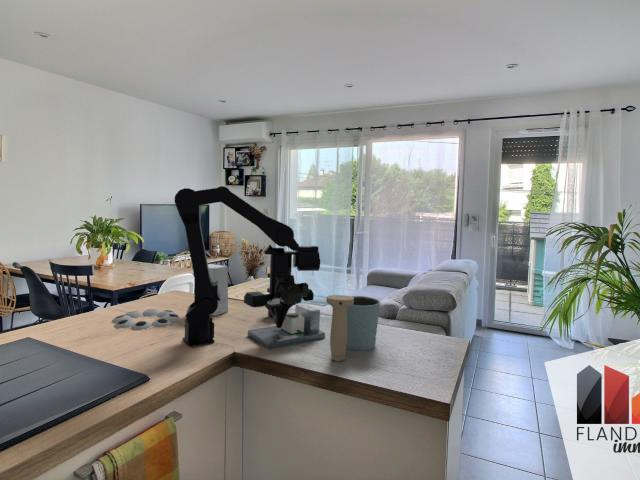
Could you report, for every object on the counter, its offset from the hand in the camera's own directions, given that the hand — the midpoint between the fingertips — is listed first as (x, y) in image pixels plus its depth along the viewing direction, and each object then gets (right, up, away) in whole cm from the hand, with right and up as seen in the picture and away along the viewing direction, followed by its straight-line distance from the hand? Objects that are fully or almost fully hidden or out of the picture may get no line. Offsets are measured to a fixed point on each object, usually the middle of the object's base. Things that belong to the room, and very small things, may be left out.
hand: (278, 327), depth 107 cm
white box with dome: (+5, -1, +2) cm, 5 cm away
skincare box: (-25, 0, +23) cm, 34 cm away
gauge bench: (+2, -3, +2) cm, 4 cm away
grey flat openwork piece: (-41, -1, +12) cm, 43 cm away
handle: (+15, -5, -13) cm, 21 cm away
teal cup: (+21, -4, -3) cm, 22 cm away
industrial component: (-4, -1, +21) cm, 22 cm away
